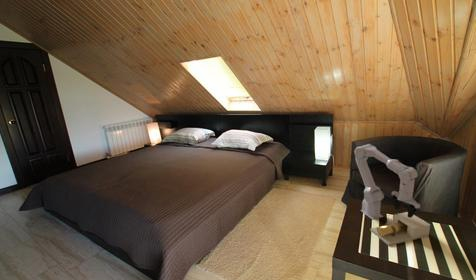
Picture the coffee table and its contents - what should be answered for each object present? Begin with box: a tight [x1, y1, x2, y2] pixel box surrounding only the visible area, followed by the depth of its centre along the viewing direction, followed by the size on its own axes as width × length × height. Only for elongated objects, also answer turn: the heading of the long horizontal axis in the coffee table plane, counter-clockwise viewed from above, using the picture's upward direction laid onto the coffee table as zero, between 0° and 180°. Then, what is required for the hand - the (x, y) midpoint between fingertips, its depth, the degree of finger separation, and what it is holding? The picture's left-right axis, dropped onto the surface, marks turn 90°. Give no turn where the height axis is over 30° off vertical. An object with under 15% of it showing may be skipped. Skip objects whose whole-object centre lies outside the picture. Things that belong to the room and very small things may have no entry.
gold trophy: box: [377, 222, 407, 236], centre depth 115 cm, size 6×14×4 cm, turn 100°
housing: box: [369, 211, 431, 246], centre depth 115 cm, size 12×24×7 cm, turn 100°
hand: (403, 212), depth 116 cm, fingers open, 7 cm apart
